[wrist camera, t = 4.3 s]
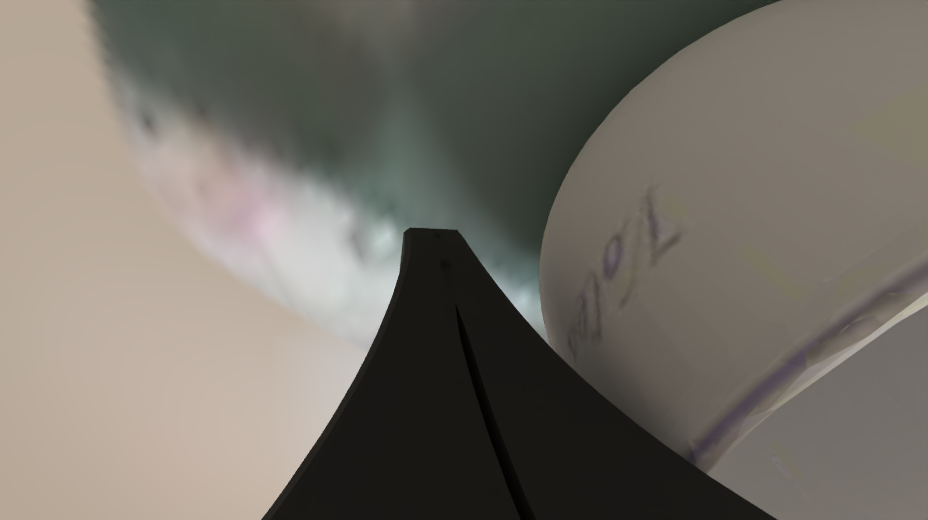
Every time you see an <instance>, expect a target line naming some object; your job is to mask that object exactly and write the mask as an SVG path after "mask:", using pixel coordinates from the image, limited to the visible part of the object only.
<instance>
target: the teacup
mask: <svg viewBox="0 0 928 520" xmlns="http://www.w3.org/2000/svg"><path fill="white" fill-rule="evenodd" d="M539 292H540V301H541V309H542V315H543V319H544V324H545V328H546V332H547V335H548V339H549V342H550V346H551V348H552V349H553V350H554V351H555V352H556V353H557V354H558V355H559V356H560V357H561V358H562V359H563V360H564V361H565V362H566V363H567V364H568V365H569V366H571V367H572V368H573V369H574V370H575V371H576V372H577V373H578V374H579V375H580V376H581V377H582V378H583V379H584V380H585V381H586V382H588V383H589V384H590V385H591V386H592V387H593V388H594V389H596V390H597V391H598V392H599V393H600V394H601V395H603V396H604V397H605V398H606V399H607V400H609V401H610V402H611V403H612V404H614V405H615V406H616V407H617V408H618V409H620V410H621V411H622V412H623V413H624V414H626V415H627V416H628V417H629V418H631V419H632V420H633V421H634V422H636V423H637V424H638V425H639V426H641V427H642V428H643V429H645V430H646V431H647V432H649V433H650V434H651V435H653V436H654V437H655V438H657V439H658V440H659V441H661V442H662V443H663V444H665V445H666V446H667V447H669V448H670V449H672V450H673V451H674V452H676V453H677V454H679V455H680V456H681V457H683V458H684V459H686V460H687V461H689V462H690V463H691V464H693V465H694V466H696V467H697V468H698V469H700V470H701V471H703V472H704V473H706V474H707V475H709V476H710V477H711V478H713V479H715V480H716V481H718V482H719V483H721V484H722V485H724V486H726V487H727V488H729V489H730V490H732V491H733V492H735V493H737V494H738V495H740V496H741V497H743V498H744V499H746V500H748V501H749V502H751V503H752V504H754V505H755V506H757V507H759V508H760V509H762V510H763V511H765V512H766V513H768V514H770V515H771V516H773V517H774V518H776V519H777V520H928V0H781V1H778V2H776V3H773V4H770V5H767V6H764V7H761V8H759V9H756V10H754V11H752V12H750V13H747V14H745V15H743V16H740V17H738V18H736V19H734V20H732V21H730V22H728V23H726V24H725V25H723V26H721V27H719V28H717V29H715V30H713V31H712V32H710V33H708V34H707V35H705V36H703V37H702V38H700V39H698V40H697V41H695V42H693V43H692V44H690V45H688V46H687V47H685V48H684V49H682V50H680V51H679V52H678V53H676V54H675V55H674V56H672V57H671V58H670V59H668V60H667V61H666V62H664V63H663V64H662V65H661V66H660V67H658V68H657V69H656V70H655V71H654V72H652V73H651V74H650V75H649V76H647V77H646V78H645V79H644V80H643V81H642V82H640V83H639V84H638V85H637V86H636V87H634V88H633V89H632V90H631V91H630V92H629V93H628V94H627V95H626V96H625V97H624V98H623V99H622V100H621V102H620V103H619V104H618V105H617V106H616V107H615V108H614V109H613V110H612V111H611V112H610V114H609V115H608V116H607V117H606V118H605V120H604V121H603V122H602V123H601V125H600V126H599V127H598V128H597V129H596V131H595V132H594V133H593V134H592V136H591V137H590V138H589V139H588V141H587V142H586V144H585V145H584V147H583V148H582V150H581V152H580V153H579V155H578V156H577V158H576V159H575V161H574V163H573V164H572V166H571V167H570V169H569V171H568V173H567V175H566V177H565V179H564V181H563V183H562V185H561V187H560V189H559V191H558V193H557V196H556V198H555V201H554V203H553V206H552V208H551V211H550V214H549V217H548V221H547V224H546V228H545V232H544V237H543V242H542V248H541V255H540V264H539Z"/></svg>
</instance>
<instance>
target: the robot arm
mask: <svg viewBox="0 0 928 520" xmlns="http://www.w3.org/2000/svg"><path fill="white" fill-rule="evenodd" d="M262 520H777V519H776V518H774V517H773V516H771V515H770V514H768V513H766V512H765V511H763V510H762V509H760V508H759V507H757V506H755V505H754V504H752V503H751V502H749V501H748V500H746V499H744V498H743V497H741V496H740V495H738V494H737V493H735V492H733V491H732V490H730V489H729V488H727V487H726V486H724V485H722V484H721V483H719V482H718V481H716V480H715V479H713V478H711V477H710V476H709V475H707V474H706V473H704V472H703V471H701V470H700V469H698V468H697V467H696V466H694V465H693V464H691V463H690V462H689V461H687V460H686V459H684V458H683V457H681V456H680V455H679V454H677V453H676V452H674V451H673V450H672V449H670V448H669V447H667V446H666V445H665V444H663V443H662V442H661V441H659V440H658V439H657V438H655V437H654V436H653V435H651V434H650V433H649V432H647V431H646V430H645V429H643V428H642V427H641V426H639V425H638V424H637V423H636V422H634V421H633V420H632V419H631V418H629V417H628V416H627V415H626V414H624V413H623V412H622V411H621V410H620V409H618V408H617V407H616V406H615V405H614V404H612V403H611V402H610V401H609V400H607V399H606V398H605V397H604V396H603V395H601V394H600V393H599V392H598V391H597V390H596V389H594V388H593V387H592V386H591V385H590V384H589V383H588V382H586V381H585V380H584V379H583V378H582V377H581V376H580V375H579V374H578V373H577V372H576V371H575V370H574V369H573V368H572V367H571V366H569V365H568V364H567V363H566V362H565V361H564V360H563V359H562V358H561V357H560V356H559V355H558V354H557V353H556V352H555V351H554V350H553V349H552V348H551V347H550V346H549V345H548V344H547V343H546V342H545V341H544V340H543V339H542V338H541V336H540V335H539V334H538V333H537V332H536V331H535V330H534V329H533V328H532V326H531V325H530V324H529V323H528V322H527V321H526V320H525V319H524V317H523V316H522V315H521V314H520V313H519V311H518V310H517V309H516V308H515V307H514V305H513V304H512V303H511V302H510V300H509V299H508V298H507V297H506V295H505V294H504V293H503V292H502V290H501V289H500V288H499V287H498V285H497V284H496V283H495V281H494V280H493V279H492V277H491V276H490V275H489V273H488V272H487V271H486V269H485V268H484V267H483V265H482V264H481V262H480V261H479V260H478V258H477V257H476V255H475V254H474V252H473V251H472V250H471V248H470V247H469V245H468V244H467V242H466V241H465V239H464V238H463V237H462V235H461V234H460V233H459V232H458V230H448V229H428V228H409V229H408V230H406V231H405V232H404V236H403V245H402V255H401V264H400V273H399V276H398V280H397V283H396V286H395V289H394V292H393V295H392V298H391V301H390V304H389V306H388V309H387V311H386V313H385V316H384V318H383V321H382V323H381V326H380V328H379V330H378V333H377V335H376V337H375V339H374V341H373V344H372V346H371V348H370V350H369V352H368V354H367V356H366V358H365V360H364V362H363V364H362V366H361V367H360V369H359V371H358V373H357V375H356V377H355V379H354V381H353V382H352V384H351V386H350V388H349V389H348V391H347V393H346V394H345V396H344V398H343V400H342V402H341V403H340V405H339V407H338V409H337V410H336V412H335V413H334V415H333V417H332V418H331V420H330V422H329V423H328V425H327V426H326V428H325V430H324V431H323V433H322V434H321V436H320V437H319V439H318V440H317V442H316V443H315V445H314V446H313V447H312V449H311V450H310V452H309V453H308V455H307V456H306V458H305V459H304V461H303V462H302V464H301V465H300V467H299V468H298V469H297V471H296V472H295V474H294V475H293V477H292V478H291V480H290V481H289V483H288V484H287V486H286V487H285V489H284V490H283V491H282V493H281V494H280V495H279V497H278V498H277V500H276V501H275V502H274V504H273V505H272V506H271V508H270V509H269V510H268V512H267V513H266V514H265V516H264V517H263V518H262Z"/></svg>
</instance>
